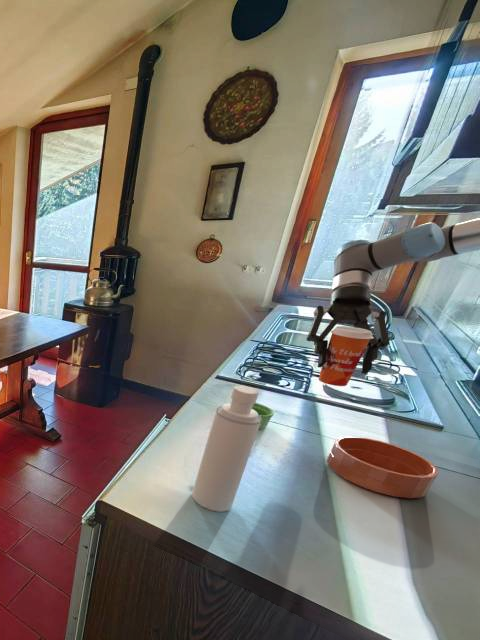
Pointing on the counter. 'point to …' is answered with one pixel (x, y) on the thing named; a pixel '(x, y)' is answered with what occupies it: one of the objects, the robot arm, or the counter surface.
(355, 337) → the paper cup
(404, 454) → the bowl
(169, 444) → the counter surface
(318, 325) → the robot arm
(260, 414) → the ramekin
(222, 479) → the white bottle
